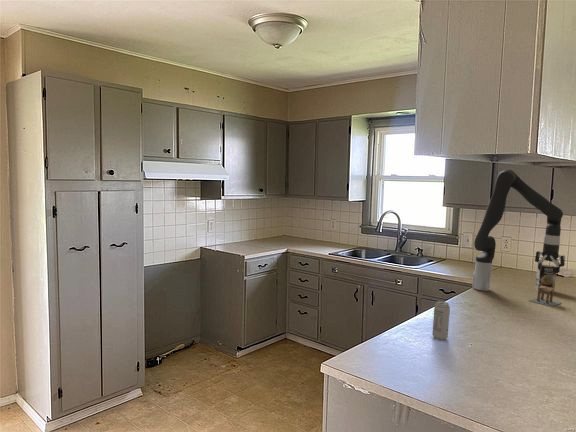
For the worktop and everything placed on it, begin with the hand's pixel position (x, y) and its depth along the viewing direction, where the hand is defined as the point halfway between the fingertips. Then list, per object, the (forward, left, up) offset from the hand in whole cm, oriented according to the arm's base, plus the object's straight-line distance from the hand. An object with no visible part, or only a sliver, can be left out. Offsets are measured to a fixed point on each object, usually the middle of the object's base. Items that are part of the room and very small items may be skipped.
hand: (548, 271), depth 235 cm
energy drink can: (+2, -103, -18) cm, 104 cm away
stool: (0, -1, -17) cm, 17 cm away
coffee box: (-12, +27, -18) cm, 35 cm away
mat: (0, -1, -18) cm, 18 cm away
